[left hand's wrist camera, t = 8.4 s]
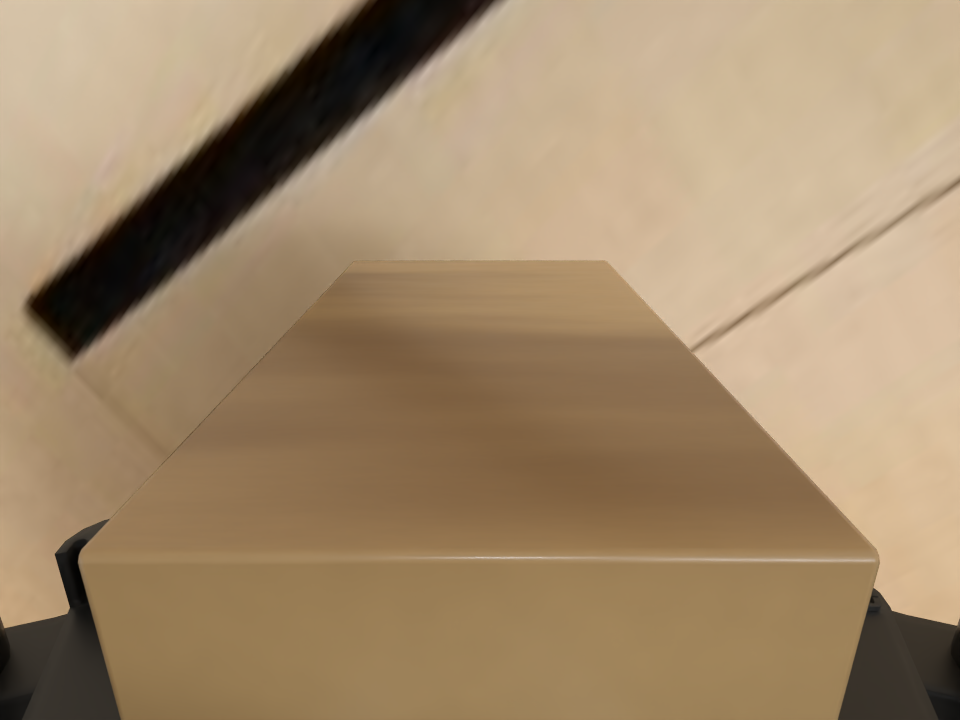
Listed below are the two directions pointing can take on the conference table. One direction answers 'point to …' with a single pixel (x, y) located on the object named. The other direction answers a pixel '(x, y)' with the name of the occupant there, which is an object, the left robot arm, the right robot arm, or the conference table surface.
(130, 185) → the conference table surface
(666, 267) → the conference table surface
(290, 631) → the box
